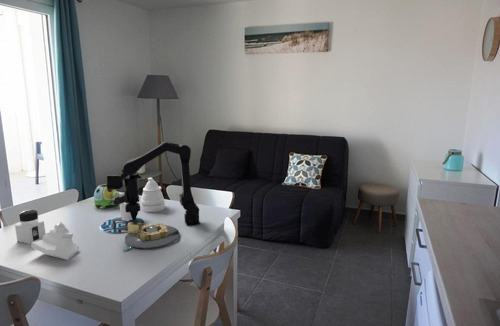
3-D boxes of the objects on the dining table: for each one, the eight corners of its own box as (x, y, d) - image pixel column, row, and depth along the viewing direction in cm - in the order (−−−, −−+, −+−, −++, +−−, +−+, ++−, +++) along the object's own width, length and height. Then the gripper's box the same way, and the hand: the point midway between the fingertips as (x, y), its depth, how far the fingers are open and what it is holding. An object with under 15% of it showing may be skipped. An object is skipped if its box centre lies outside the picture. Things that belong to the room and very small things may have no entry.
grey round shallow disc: (175, 225, 160) (174, 215, 160) (182, 244, 139) (182, 233, 138) (124, 231, 153) (123, 221, 152) (123, 253, 131) (122, 241, 130)
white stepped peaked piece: (61, 248, 139) (67, 215, 139) (82, 260, 132) (89, 225, 131) (29, 253, 128) (37, 217, 128) (51, 266, 121) (59, 228, 121)
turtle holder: (109, 211, 179) (107, 190, 177) (89, 206, 188) (87, 186, 186) (128, 205, 190) (127, 185, 187) (108, 200, 199) (106, 181, 197)
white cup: (131, 222, 164) (130, 203, 162) (117, 221, 165) (115, 202, 163) (139, 217, 171) (138, 198, 170) (126, 216, 173) (124, 197, 171)
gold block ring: (175, 229, 151) (175, 221, 150) (158, 243, 137) (158, 234, 136) (139, 225, 156) (138, 217, 155) (119, 238, 141) (118, 229, 141)
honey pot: (161, 212, 179) (159, 180, 176) (137, 211, 180) (135, 180, 176) (167, 204, 192) (165, 174, 188) (145, 204, 192) (143, 174, 189)
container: (46, 237, 146) (42, 209, 144) (29, 244, 139) (25, 215, 137) (33, 234, 149) (30, 207, 146) (16, 241, 142) (12, 213, 139)
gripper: (113, 184, 156) (116, 215, 160) (111, 195, 139) (114, 229, 142) (138, 182, 160) (140, 213, 163) (139, 192, 143) (141, 226, 146)
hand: (133, 220), depth 154 cm, fingers closed
